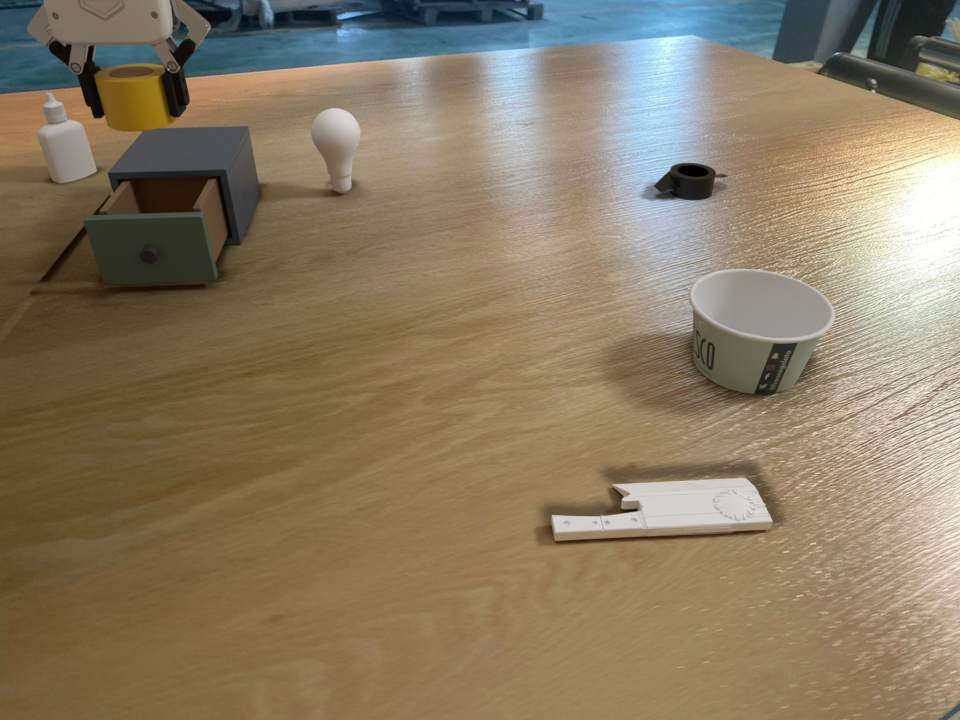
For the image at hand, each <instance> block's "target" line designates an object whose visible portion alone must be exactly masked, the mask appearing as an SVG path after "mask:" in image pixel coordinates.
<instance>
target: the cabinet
mask: <svg viewBox="0 0 960 720" xmlns="http://www.w3.org/2000/svg"><path fill="white" fill-rule="evenodd" d="M107 176H108V180H109V184H110V187H111V190H112V194H113V193H114V192H115V191H116V189H117V188H118V187H119V186H120V184H121V183H122V182H123V181H124V179H137V178H172V177H207V176H220V179H221V184H222V189H223V194H224V198H225V203H226V208H227V213H228V218H229V223H230V231H229V233H228V235H227V237H226V240H225V242H224V244H223V246H234V245H235V246H237V245H242V243H243V240H244V237H245V234H246V232H247V230H248V227H249V225H250V222H251V220H252V217H253V215H254V212H255V210H256V207H257V205H258V203H259V199H260V197H261V190H260V184H259V178H258V173H257V167H256V160H255V155H254V150H253V144H252V138H251V133H250V126H248V125H240V126H238V125H236V126H201V127H200V126H199V127H198V126H197V127H194V126H193V127H192V126H191V127H162V128H158V129H154V130H147V131H141V133H140V134H139V135H138V136H137V138H135V139H134V141H133V142H132V143H131V145H130V146H129V147H128V148H127V149H126V150H125V151H124V152H123V154H122V155H121V156H120V157H119V158H118V159H117V161H116V162H115V163H114V164H113V166H112V167H111V168H110V169H109V170H108V171H107Z"/></svg>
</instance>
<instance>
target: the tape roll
mask: <svg viewBox="0 0 960 720" xmlns="http://www.w3.org/2000/svg"><path fill="white" fill-rule="evenodd" d="M164 72H165V68H164V65H163V64H162V65H161V64H156V63H126V64H121V65H119V64H118V65H113V66H110V67H106V68H103V69H102V70H100V71H98V72H97V73H95V75H94V79H95V82H96V86H97V89H98V93H99V97H100V100H101V104H102V107H103V111H104V114H105V115H104V118H105V123H106V126H107V127H109V129H111V130H114V131H118V132H129V133H130V132H143V131H147V130H154V129H158V128H166V127H169V126H171V125H173V124H175V123H176V122H177V121H178V120H179V117H173V116H171V115H170V111H169V106H168V102H167V97H166V93H165V89H164V84H163V80H162V74H163V73H164Z"/></svg>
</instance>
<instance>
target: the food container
mask: <svg viewBox="0 0 960 720" xmlns="http://www.w3.org/2000/svg"><path fill="white" fill-rule="evenodd" d="M688 302H689V304H690V306H691V309H692V344H693V345H692V347H693V348H692V349H693V350H692V351H693V362H694V364H695V367H696V369H697V370H698V371H699V372H700V373H701V374H702V375H703V377H705V378H707V379H708V380H709V381H711V382H712V383H714V384H716V385H717V386H721V387H722V388H725V389H728V390H731V391H734V392H738V393H742V394H750V395H772V394H778V393H781V392H784V391H787V390H788V389H790V388H791V387H793V386H794V385H795V384H796V383H797V381H798V379H799V378H800V376H801V374H802V372H803V371H804V369H805V366H807V363H808V361H809V360H810V358H811V356H812V354H813V352H814V351H815V350H816V347H817V345H818V343H819V341H820V340H821V338H822V336H823V335H825V334H826V333H828V332H829V331H830V330H832V328H833V326H834V325H835V322H836V321H835V320H836V311H835V308H834V306H833V304H832V303H831V301H830V300H829V298H827V297H826V296H825V295H824V294H823V293H822V292H821V291H820V290H818V289H817V288H815V287H813V286H812V285H810V284H808V283H807V282H804V281H802V280H799V279H797V278H794V277H793V276H789V275H785V274H782V273H778V272H774V271H768V270H762V269H755V268H730V269H729V268H728V269H722V270H717V271H713V272H709V273H707V274H705V275H702V276H701V277H699V278H698V279H696V281H694V282H693V283H692V285H691V286H690V288H689V290H688Z"/></svg>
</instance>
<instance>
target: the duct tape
mask: <svg viewBox="0 0 960 720" xmlns="http://www.w3.org/2000/svg"><path fill="white" fill-rule="evenodd" d="M728 177H729V175H727V174H725V173H718V174H717V172H716V169H714V168H712V167H711V166H709V165H707V164H703V163H697V162H680V163H676V164H673V165H672V166H671V167H670V170H668V171H667V172H666V173H665V174H664V175H663V176H662V177H661V178H660V179H659V180H658V181H657V182H656V183H655V184H654V185H653V187H654V188H655V189H656V191H658V192H659V193H660V194H666V193H668V194H669V195H670V196H673V197H675V198H677V199H681V200H686V201H703V200H706V199H710V198H711V197H712V196H713V190H714V187H715V186H714V185H715V179H716V178H720V179H721V178H722V179H723V178H728Z"/></svg>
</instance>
